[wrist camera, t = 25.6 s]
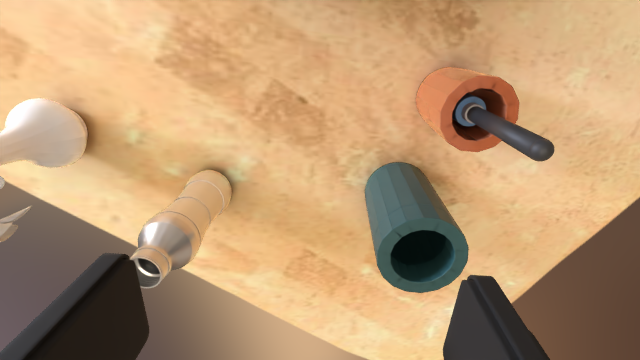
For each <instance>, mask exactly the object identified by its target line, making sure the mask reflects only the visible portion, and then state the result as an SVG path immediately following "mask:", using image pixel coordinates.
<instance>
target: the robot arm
mask: <svg viewBox="0 0 640 360" xmlns="http://www.w3.org/2000/svg"><path fill="white" fill-rule="evenodd" d="M148 335H149V325H148V320H147V316H146V311H145V306H144V302H143V297H142V293H141V289H140V283H139V279H138V274H137V270H136V265H135V262H134V261H133V260H130V258H129V256H128V255H126V254H114V253H105V254H103V255H101V256H100V257H99V258H98V259H97V260H96V261H95V262H94V263H93V264H92V265H91V266H89V267H88V268H87V269H86V270H85V271H84V272H83V273H82V274H81V275H80V276H79V277H78V278H77V279H76V280H75V281H74V282H73V283H72V284H71V285H70V286H69V287H68V288H67V289H66V290H65V291H63V292H62V294H60V295H59V296H58V297H57V298H56V299H55V300H54V301H53V302H52V303H51V304H50V305H49V306H48V307H47V308H46V309H45V310H44V311H43V312H42V313H41V314H40V315H39V316H38V317H36V318H35V319H34V320H33V321H32V322H31V323H30V324H29V325H28V326H27V327H26V328H25V329H24V330H23V331H22V332H21V333H20V334H19V335H18V336H17V337H16V338H15V339H14V340H13V341H12V342H11V343H9V344H8V345H7V346H6V347H5V348H4V349H3V350H2V351H1V352H0V360H135V359H136V358H137V356H138V354H139V353H140V351H141V349H142V348H143V346H144V344H145V343H146V341H147V338H148ZM443 356H444V360H550V359H549V357H548V356H547V354H546V353H545V352H544V350H543V348H542V347H541V345H540V344H539V342H538V341H537V339H536V338H535V336H534V335H533V334H532V333H531V332H530V331H529V330H528V329H527V327H526V326H525V324H524V323H523V321H522V320H521V318H520V317H519V315H518V314H517V312H516V311H515V309H514V308H513V306H512V305H511V303H510V302H509V300H508V298H507V297H506V295H505V294H504V292H503V291H502V289H501V288H500V286H499V285H498V283H497V282H496V280H495V279H494V278H493V277H491V276H478V275H470V276H469V277H468V279H467V280H463V281H462V282H461V285H460V289H459V292H458V296H457V299H456V303H455V307H454V310H453V314H452V317H451V321H450V325H449V328H448V332H447V336H446V339H445V343H444V347H443Z"/></svg>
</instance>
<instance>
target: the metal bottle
mask: <svg viewBox="0 0 640 360" xmlns="http://www.w3.org/2000/svg"><path fill="white" fill-rule="evenodd" d="M231 195H232V189H231V185H230V183H229V181H228V180H227V178H226V177H225V176H224V175H222V174H221V173H219V172H217V171H213V170H204V171H201V172H199V173H197V174H195V175H193V176H192V177H191V178H190V179H189V180H188V182H187V184H186V185H185V187H184V189H183V191H182V192H181V194H180V195H179V197H178V198H177V199H176V200H175V201H174V202H173V203H171V204H170V205H169V206H168V207H167V208H165V209H164V210H162V211H161V212H159V213H158V214H156V215H155V216H153V217H152V218H151V219H149V220H148V221H147V222H146V223H145V224H144V225H143V227H142V229H141V231H140V234H139V237H138V249H137V250H136V251H135V253H134V254H133V256H132V257H131V258H130V260H133V261H134V262H135V265H136V270H137V274H138V279H139V283H140V287H142V288H153V287H155V286H157V285H158V284H159V283H160V282H161V281H162V279H163V278H164V277H166V275H167V274H168V273H169V272H170V271H171V270H176V269H179V268H182V267H183V266H185V265H186V264H188V263H189V262H190V261H191V260H192V259H193V258H194V257H195V255H196V253H197V251H198V249H199V247H200V244H201V242H202V239H203V237H204V234H205V232H206V231H207V229H208V227H209V225H210V224H211V223H212V221H213V220H214V219H215V218H216V217H217V216H218V215H219V214H221V213H222V212H223V211H224V210H225V209H226V208H227V206H228V205H229V202H230V199H231Z"/></svg>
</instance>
